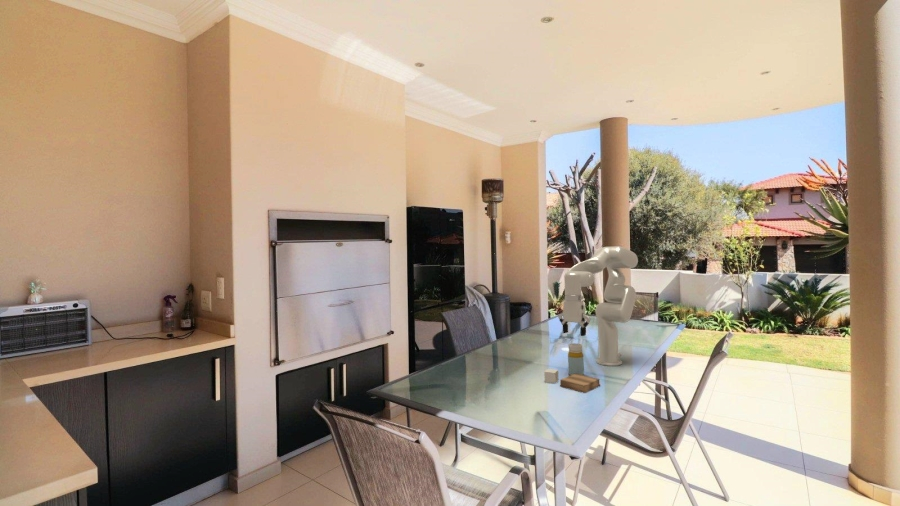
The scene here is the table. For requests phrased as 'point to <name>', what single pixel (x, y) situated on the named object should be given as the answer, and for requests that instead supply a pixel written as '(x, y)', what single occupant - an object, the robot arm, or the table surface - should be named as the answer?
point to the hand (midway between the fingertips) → (574, 334)
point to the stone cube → (551, 376)
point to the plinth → (579, 383)
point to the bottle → (575, 359)
